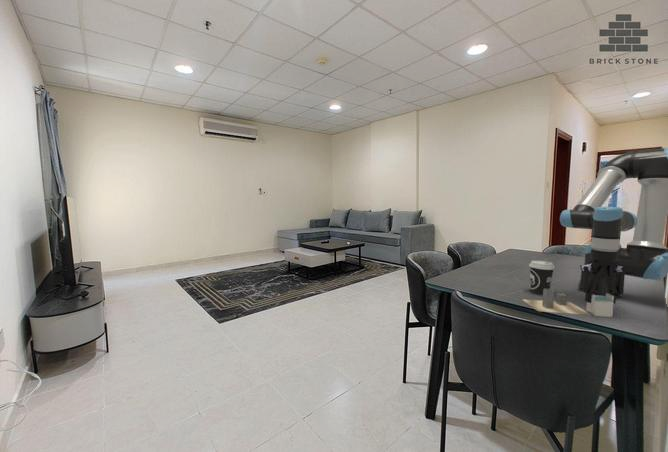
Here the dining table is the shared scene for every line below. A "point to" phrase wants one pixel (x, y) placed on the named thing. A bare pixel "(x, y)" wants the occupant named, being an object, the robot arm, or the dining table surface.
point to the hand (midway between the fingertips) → (599, 311)
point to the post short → (561, 299)
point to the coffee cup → (540, 276)
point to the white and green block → (602, 306)
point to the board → (556, 307)
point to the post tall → (548, 298)
